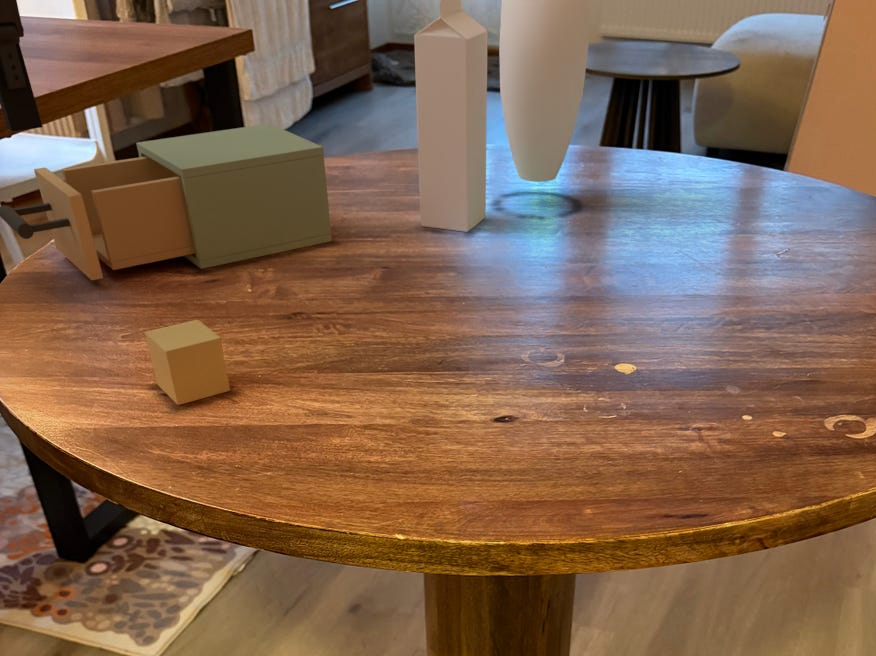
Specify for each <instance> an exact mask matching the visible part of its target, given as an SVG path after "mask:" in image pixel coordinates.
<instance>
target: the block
mask: <svg viewBox="0 0 876 656" xmlns="http://www.w3.org/2000/svg"><path fill="white" fill-rule="evenodd" d="M144 336H145V340H146V344H147V348H148V353H149V356H150V361H151V365H152V370H153V374H154V378H155V381H156V385H157V386H158V387H159V388H160V389H161V390H162V391H163V392H164V393H165V395H167V397H169V398H170V399H171V400H172V401H173V402H174V403H175V404H176V405H177V406H180V405H184V404H188V403H191V402H194V401H199V400H202V399H205V398H209V397H213V396H216V395H220V394H223V393H227V392H230V391H231V387H230V381H229V377H228V371H227V366H226V360H225V355H224V350H223V344H222V339H221V337H220V336H219V335H218V334H216V333H215V332H214V331H213V330H212V329H211V328H209V327H208V326H207V325H206V324H204V323H203V322H202V321H201V320H199V319H193V320H189V321H184V322H181V323H177V324H172V325H169V326H164V327H160V328H156V329H152V330H151V329H150V330H147V331H144Z"/></svg>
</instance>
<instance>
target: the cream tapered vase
mask: <svg viewBox="0 0 876 656" xmlns="http://www.w3.org/2000/svg"><path fill="white" fill-rule="evenodd" d="M500 7H501V8H500V25H499V26H500V27H499V43H498V45H499V46H498V47H499V49H498V50H499V53H498V54H499V92H500V100H501V107H502V114H503V120H504V127H505V133H506V139H507V142H508V145H509V148H510V153H511V157H512V161H513V164H514V166H515V169H516V172H517V175H518V177H519V179H521V180H522V181H523V180H524V181H527V182H534V183H535V182H536V183H542V182H543V183H545V182H550V181H554V180H556V179H557V177H558V174H559V172H560V170H561V168H562V165H563V164H564V161H565V158H566V156H567V153H568V150H569V147H570V144H571V141H572V139H573V135H574V132H575V128H576V124H577V119H578V116H579V112H580V108H581V107H580V106H581V103H582V99H583V95H584V88H585V79H586V70H587V64H588V63H587V61H588V53H589V39H590V38H589V37H590V35H589V34H590V15H591V13H590V12H591V0H501V6H500Z"/></svg>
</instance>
